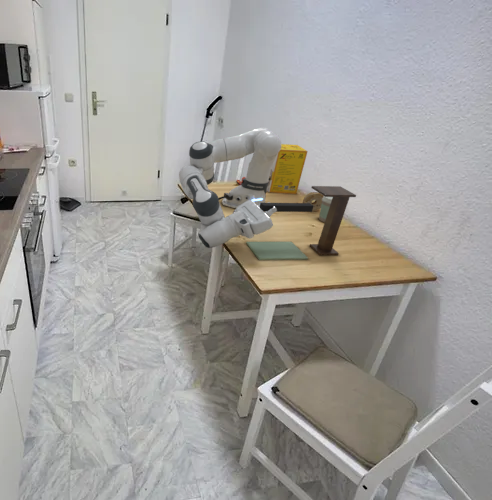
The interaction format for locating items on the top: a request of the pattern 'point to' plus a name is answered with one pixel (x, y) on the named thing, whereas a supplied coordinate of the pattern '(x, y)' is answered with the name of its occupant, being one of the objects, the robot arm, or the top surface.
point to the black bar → (287, 207)
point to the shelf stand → (331, 217)
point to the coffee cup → (325, 208)
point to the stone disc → (316, 197)
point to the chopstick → (239, 182)
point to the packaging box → (287, 169)
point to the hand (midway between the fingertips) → (273, 206)
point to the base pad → (276, 251)
